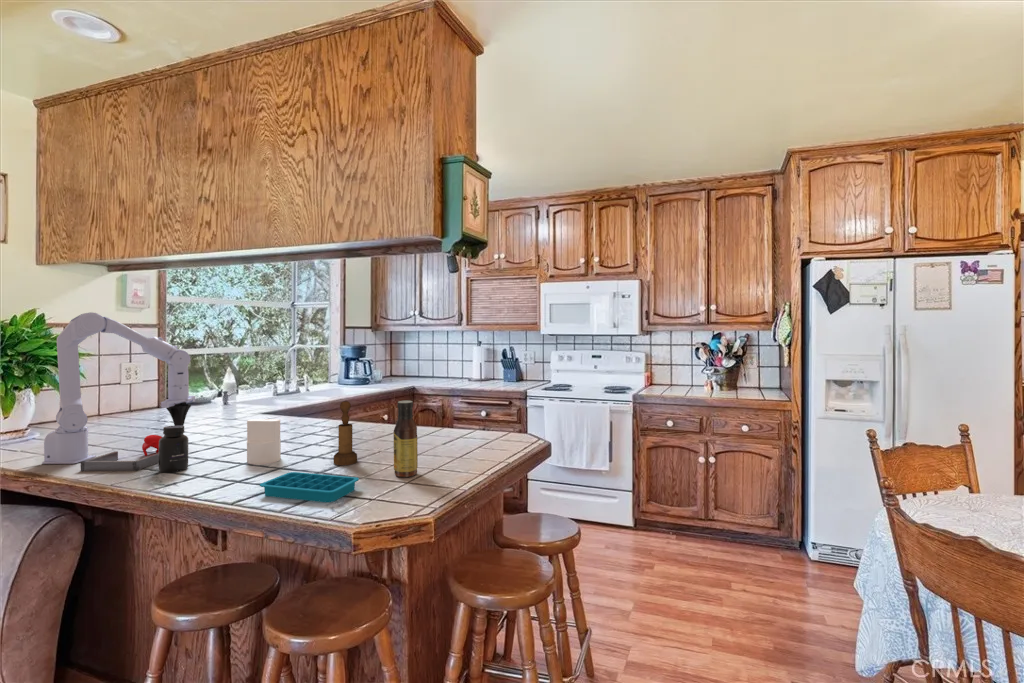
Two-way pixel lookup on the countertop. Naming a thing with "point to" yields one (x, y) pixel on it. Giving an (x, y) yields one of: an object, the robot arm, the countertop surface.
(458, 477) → the countertop surface
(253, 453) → the cream upright block
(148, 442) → the red curved piece
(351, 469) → the countertop surface
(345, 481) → the ice cube tray
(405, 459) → the sauce bottle
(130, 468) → the tray
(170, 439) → the supplement bottle
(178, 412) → the robot arm
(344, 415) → the brown wooden pepper mill
